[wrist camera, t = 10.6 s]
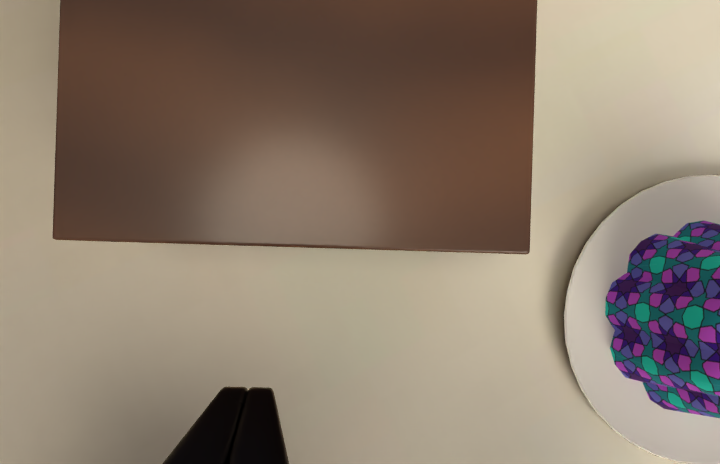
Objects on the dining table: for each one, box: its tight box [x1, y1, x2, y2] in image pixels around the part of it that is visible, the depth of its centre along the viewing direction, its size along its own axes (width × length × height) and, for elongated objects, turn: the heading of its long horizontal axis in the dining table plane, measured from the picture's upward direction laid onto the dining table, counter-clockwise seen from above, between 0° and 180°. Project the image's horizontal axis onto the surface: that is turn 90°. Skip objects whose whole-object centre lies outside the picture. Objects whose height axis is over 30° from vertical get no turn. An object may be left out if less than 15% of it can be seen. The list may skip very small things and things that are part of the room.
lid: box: [53, 0, 537, 254], centre depth 15 cm, size 13×14×1 cm
